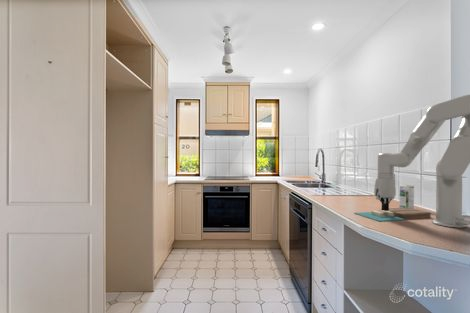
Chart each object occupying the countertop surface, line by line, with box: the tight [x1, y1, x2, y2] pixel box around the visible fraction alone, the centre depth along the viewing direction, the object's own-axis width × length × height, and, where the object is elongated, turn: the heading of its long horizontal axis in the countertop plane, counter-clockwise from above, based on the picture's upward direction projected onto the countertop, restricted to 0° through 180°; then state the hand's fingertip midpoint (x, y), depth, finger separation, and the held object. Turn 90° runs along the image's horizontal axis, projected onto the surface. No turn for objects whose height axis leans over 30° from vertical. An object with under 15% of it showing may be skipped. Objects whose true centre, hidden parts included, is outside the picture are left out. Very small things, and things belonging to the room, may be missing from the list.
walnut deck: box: [380, 207, 432, 220], centre depth 141 cm, size 14×18×2 cm
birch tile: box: [370, 209, 394, 217], centre depth 139 cm, size 9×6×2 cm, turn 103°
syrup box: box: [398, 184, 415, 209], centre depth 161 cm, size 6×6×14 cm
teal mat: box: [354, 211, 406, 222], centre depth 137 cm, size 18×16×1 cm
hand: (385, 210), depth 138 cm, fingers closed
